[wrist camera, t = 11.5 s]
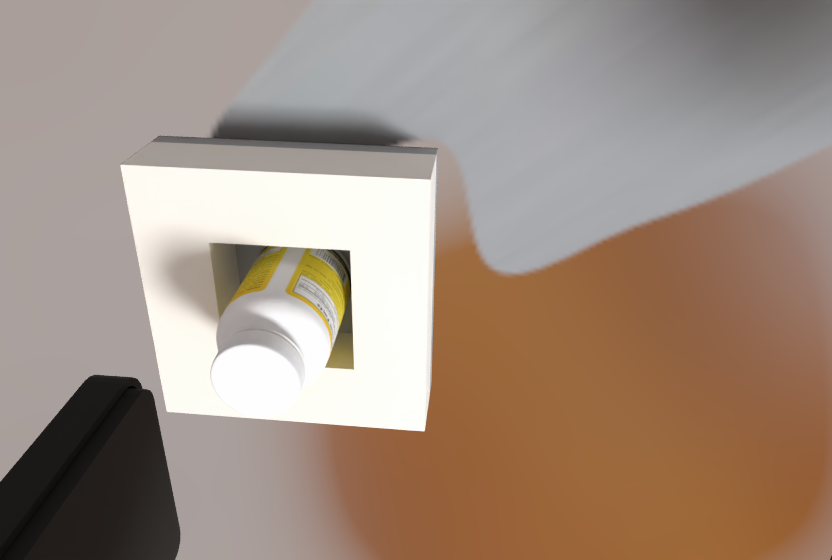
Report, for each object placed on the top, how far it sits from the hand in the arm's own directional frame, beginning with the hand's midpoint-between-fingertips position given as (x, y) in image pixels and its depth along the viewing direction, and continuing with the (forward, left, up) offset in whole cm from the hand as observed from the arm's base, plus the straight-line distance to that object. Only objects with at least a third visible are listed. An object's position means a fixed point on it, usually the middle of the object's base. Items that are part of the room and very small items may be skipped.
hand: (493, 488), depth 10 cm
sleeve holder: (+10, +12, -28) cm, 32 cm away
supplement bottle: (+10, +12, -28) cm, 31 cm away
